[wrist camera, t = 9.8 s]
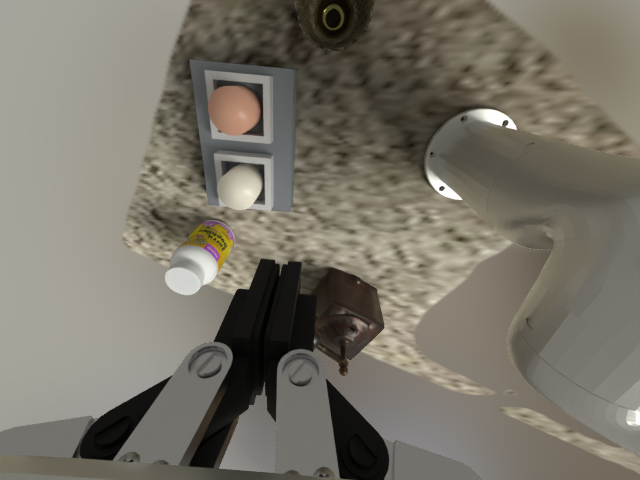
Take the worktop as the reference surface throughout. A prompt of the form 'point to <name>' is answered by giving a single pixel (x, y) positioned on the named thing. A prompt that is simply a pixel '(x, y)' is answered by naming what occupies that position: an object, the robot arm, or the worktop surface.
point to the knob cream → (241, 186)
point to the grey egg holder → (257, 143)
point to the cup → (354, 18)
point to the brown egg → (235, 109)
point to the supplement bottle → (199, 257)
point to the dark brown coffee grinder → (345, 316)
